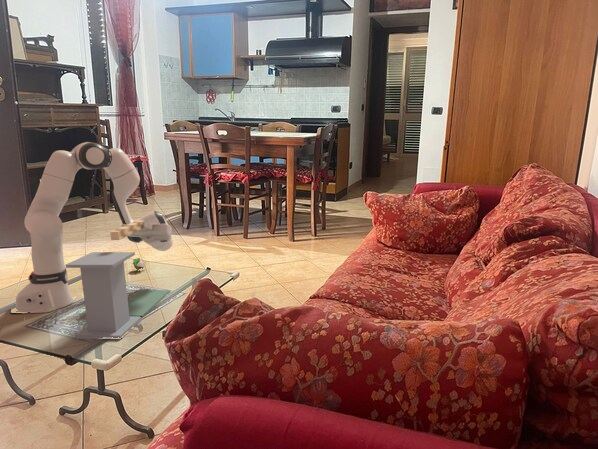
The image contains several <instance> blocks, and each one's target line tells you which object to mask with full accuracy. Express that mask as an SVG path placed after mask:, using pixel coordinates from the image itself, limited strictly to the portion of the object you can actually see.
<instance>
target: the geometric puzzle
mask: <svg viewBox="0 0 598 449" xmlns="http://www.w3.org/2000/svg"><path fill="white" fill-rule="evenodd" d="M146 263H147V262H146V261H144V260H143V259H141V258H140V257H138V258H135V259H132V264H131V267H130V268H132V270H135V268H136V269H137V270H136V272H137V271H138V270H139V269H141V268H142V269H143V268H145V267H146V265H145V264H146ZM132 265H133V266H132ZM133 267H134V269H133Z"/></svg>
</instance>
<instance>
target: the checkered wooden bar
mask: <svg viewBox="0 0 598 449" xmlns="http://www.w3.org/2000/svg"><path fill="white" fill-rule="evenodd" d="M142 222H145V221H144V220H137V221H135V222H132V223H130V224H128V225H125V226H123V227H121V226H120V227H119V228H116V229H114V230H112V231H110V240H111V241H120V240H123V239H124V238H127V236H129V235H131V234H133V233H135V232H137V231H139V230H141V229H143V227H142Z"/></svg>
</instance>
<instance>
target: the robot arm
mask: <svg viewBox="0 0 598 449" xmlns="http://www.w3.org/2000/svg"><path fill="white" fill-rule="evenodd" d="M81 169H85V170H99V169H103V170H105V171H106V173H107V175H108V176H109V178H110V180H111V182H112V184H113V189H112V191H111V196H112V197H111V198H112V200H113V203H114V205H115V209H116V211H117V213H118V216H119V218H120V221H121V223H122V224H121V225H120V228H121V227H123V226H125V225H128V224H130V223H132V222H135V221H137V220H144V221H145V222H142V227H143V229H141V230H139V231H137V232H135V233H133V234H131V235H129V236H126V238H127V239H128V240H129V241H130V242H133V243H138V244H139V243H141V242H145V243H146V244H147V245H149V246H150V247H152V248H153V249H155V250H157V251H160V252H166V251H168V250H169V249H171V248H172V246H173V241H174V240H173V238H172V235H173V229H172V226H171V225H170V224H169V222H168V220H167V218H166V217H165V215H164V214H163V213H162V212H160V211H158V210H153V211H151V212H149V213H147V214H145V215H142V216H141V217H139V218H137V219H133V218H132V216H131V213H130V211H129V208H128V205H127V199H129V197H130V196H132V194H133V193H134V192H135V191H136V190H137V189H138V187H139V185H140V181H141V177H140V174H139V172H138V170H137V168H136V167H135V165H134V163H133V162H132V161H131V159H130V157H129V156H128V155H127V153H126V152H124V151H123V149H121V148H118V147H113V148H109V149H108V148H106V147H104V146H103V145H101V144H100V143H96V142H91V141H85V142H82V143H79V144H77V145H75V146H74V147H72V149H70V150H69V151H67V150H64V149H63V150H54V151H53V152H52V154H51V155H50V157H49V159H48V161H47V163H46V165H45V168H44V170H43V173H42V175H41V178H40V181H39V184H38V188H37V190H36V193H35V196H34V198H33V199H32V202H31V204H30V205H29V208H28V210H27V213H26V215H25V217H24V220H23V222H24V228H25V229H26V230H27V231H28V233H30V239H31V240H30V241H31V244H30V245H31V253H30V254H31V255H30V256H31V261H32V262H31V263H32V269H33V270H32V272H30V274H29V276H28V277H27V278H28V281H29V283H28V284H27V285H25V286H24V287H23V288H22V289H21V290H20V291H18V293H17V294H16V297H15V304H16V309H17V310H18V311H16V312H30V313H29V314H39V313H41V314H42V313H50V312H53V311H55V310H58V309H62V308H65V307H68V306H69V305H71V304H73V303H74V301H75V300H74V298H73V295H72V293H71V291H70V287H69V283H68V282H69V278H68V271H67V268H66V264H65V259H64V252H63V249H64V248H63V245H64V244H63V242H64V233H63V232H64V225H63V221H62V219H61V218H60V213H61V212H62V210H63V208H64V206H65V204H66V203H67V202H68V200H69V197H70V194H71V192H72V188H73V185H74V182H75V176H76V174H77V172H79V170H81Z"/></svg>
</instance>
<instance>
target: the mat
mask: <svg viewBox="0 0 598 449" xmlns="http://www.w3.org/2000/svg"><path fill="white" fill-rule="evenodd" d="M169 293H171V290H170V289H164V290H163V289H139V290H137V291H136V292H135V293H134V294H132V295H131V296H130V297H127V298H128V308H129V316H143V315H144V314H145V313H146V314H148V313H149V312H150V311H151V310H152V309H153V308H154V307H155V306H157V304H158V303H160V302H161V301H162V300H163V299H164V298H165V297H166V296H167V295H168V294H169ZM150 309H151V310H150ZM149 310H150V311H149ZM148 311H149V312H148ZM147 312H148V313H147ZM146 314H145V315H146ZM145 315H144V316H145ZM144 316H143V317H144Z"/></svg>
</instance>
